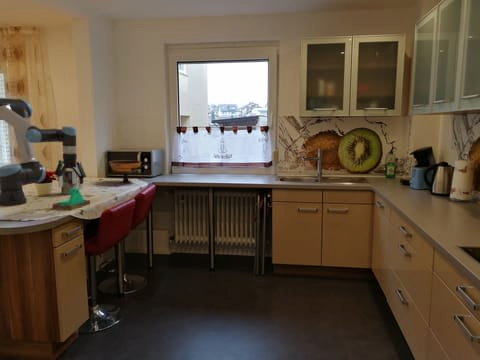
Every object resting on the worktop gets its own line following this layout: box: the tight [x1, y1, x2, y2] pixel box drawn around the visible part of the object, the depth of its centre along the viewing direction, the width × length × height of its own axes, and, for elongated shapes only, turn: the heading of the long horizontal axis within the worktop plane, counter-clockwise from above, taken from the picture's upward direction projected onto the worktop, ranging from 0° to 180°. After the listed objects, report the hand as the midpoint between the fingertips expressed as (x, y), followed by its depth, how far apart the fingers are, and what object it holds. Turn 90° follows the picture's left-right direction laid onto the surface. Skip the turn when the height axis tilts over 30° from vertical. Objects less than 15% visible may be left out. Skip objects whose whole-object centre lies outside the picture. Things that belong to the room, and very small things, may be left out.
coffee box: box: [60, 169, 78, 195], centre depth 261 cm, size 9×6×16 cm
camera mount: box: [59, 188, 85, 205], centre depth 225 cm, size 12×8×10 cm, turn 166°
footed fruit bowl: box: [106, 159, 145, 185], centre depth 310 cm, size 36×26×18 cm
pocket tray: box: [52, 199, 91, 211], centre depth 225 cm, size 13×17×2 cm
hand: (70, 188), depth 224 cm, fingers open, 13 cm apart
